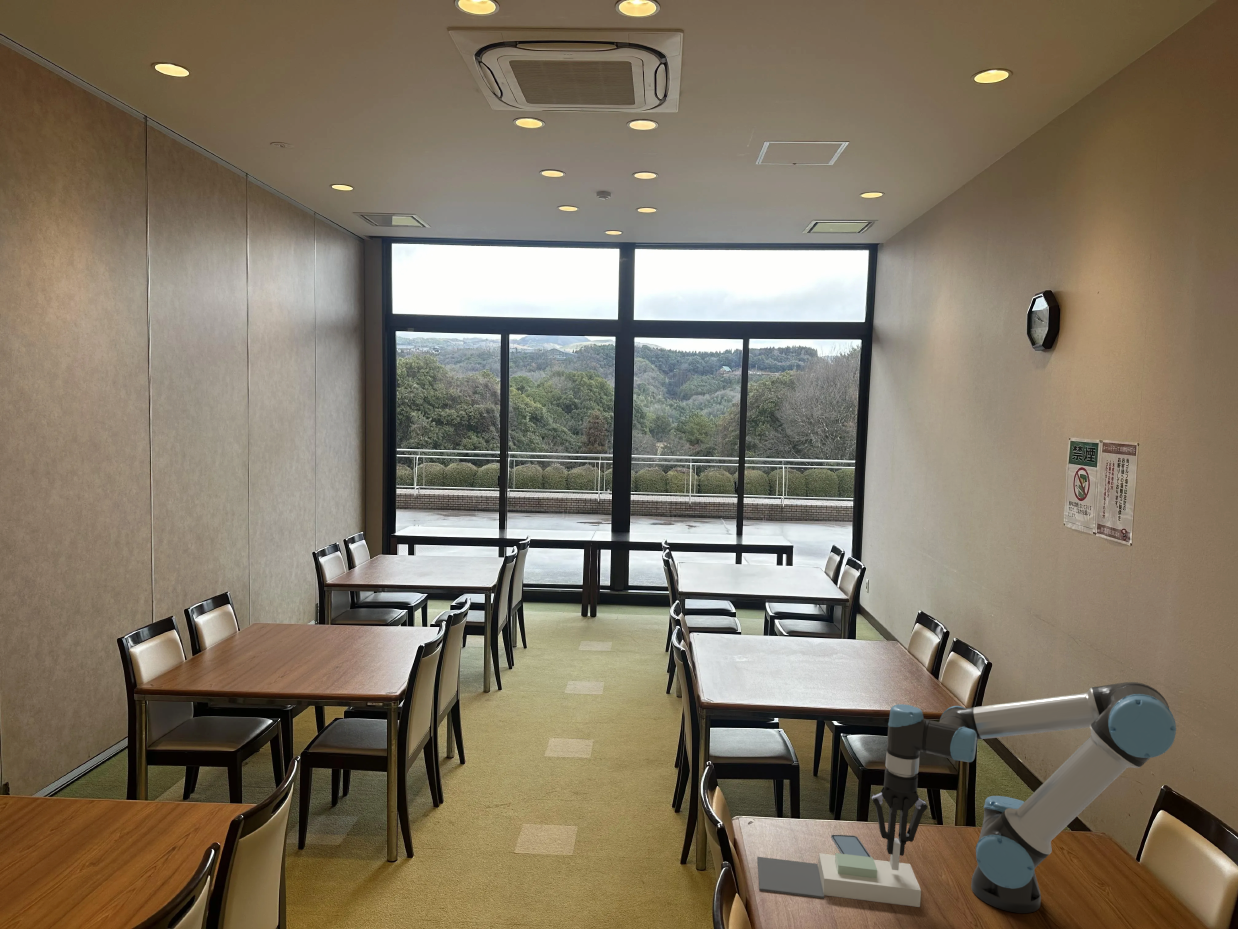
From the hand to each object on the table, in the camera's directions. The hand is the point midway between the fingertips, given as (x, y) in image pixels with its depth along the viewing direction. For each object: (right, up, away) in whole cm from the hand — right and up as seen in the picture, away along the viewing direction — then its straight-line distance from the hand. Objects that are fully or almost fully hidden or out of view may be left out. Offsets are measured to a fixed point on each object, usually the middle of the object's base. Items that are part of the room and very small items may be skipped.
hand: (894, 867), depth 196 cm
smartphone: (-5, -5, +19) cm, 20 cm away
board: (-6, -5, +1) cm, 8 cm away
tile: (-9, -1, +1) cm, 9 cm away
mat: (-25, -4, +3) cm, 25 cm away
